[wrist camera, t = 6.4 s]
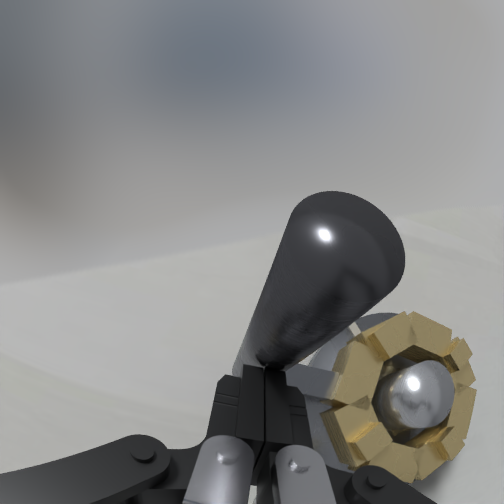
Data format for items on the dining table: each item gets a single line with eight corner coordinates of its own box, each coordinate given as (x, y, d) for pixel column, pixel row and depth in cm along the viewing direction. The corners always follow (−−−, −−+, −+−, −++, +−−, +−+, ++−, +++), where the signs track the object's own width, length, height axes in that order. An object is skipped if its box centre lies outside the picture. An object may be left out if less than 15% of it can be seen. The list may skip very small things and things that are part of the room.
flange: (448, 330, 22) (491, 305, 17) (439, 479, 15) (487, 482, 10) (310, 305, 22) (338, 270, 17) (280, 486, 15) (304, 508, 10)
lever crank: (462, 353, 19) (607, 267, 7) (428, 485, 14) (607, 478, 1) (279, 270, 21) (357, 75, 9) (206, 416, 15) (185, 418, 3)
